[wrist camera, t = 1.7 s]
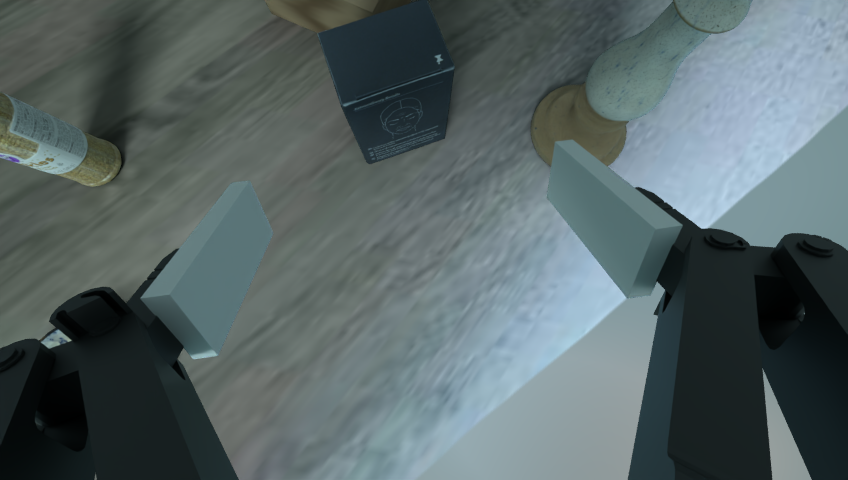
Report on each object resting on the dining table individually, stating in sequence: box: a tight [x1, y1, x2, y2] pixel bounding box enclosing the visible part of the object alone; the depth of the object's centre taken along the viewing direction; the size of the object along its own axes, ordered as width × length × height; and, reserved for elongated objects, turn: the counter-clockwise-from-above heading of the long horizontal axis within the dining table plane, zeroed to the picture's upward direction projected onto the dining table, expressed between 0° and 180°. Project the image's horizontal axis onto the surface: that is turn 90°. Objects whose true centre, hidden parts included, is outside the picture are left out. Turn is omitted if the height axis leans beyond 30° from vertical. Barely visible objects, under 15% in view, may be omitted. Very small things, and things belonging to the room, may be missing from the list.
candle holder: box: [531, 0, 752, 166], centre depth 22 cm, size 9×9×20 cm
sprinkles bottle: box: [0, 92, 121, 186], centre depth 24 cm, size 5×5×13 cm
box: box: [318, 0, 455, 164], centre depth 27 cm, size 8×6×11 cm
